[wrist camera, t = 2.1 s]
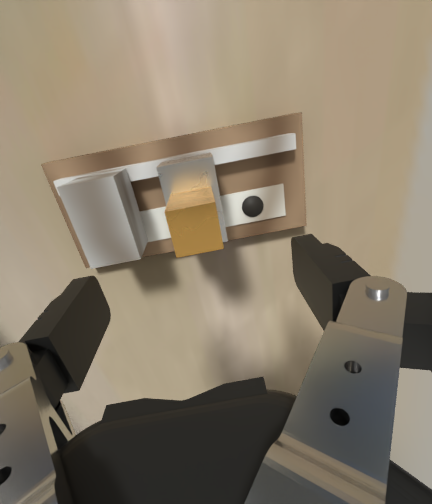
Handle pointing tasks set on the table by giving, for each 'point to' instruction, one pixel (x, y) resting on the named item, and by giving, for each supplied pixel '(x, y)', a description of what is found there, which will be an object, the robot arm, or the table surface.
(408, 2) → the table surface
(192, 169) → the block
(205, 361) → the table surface
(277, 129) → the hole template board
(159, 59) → the table surface
